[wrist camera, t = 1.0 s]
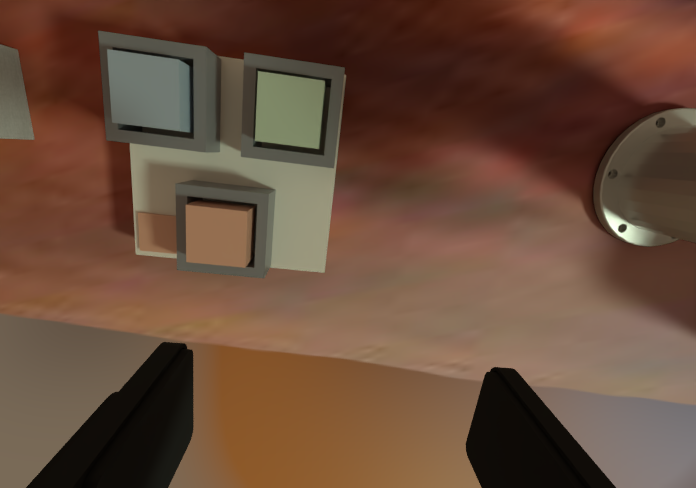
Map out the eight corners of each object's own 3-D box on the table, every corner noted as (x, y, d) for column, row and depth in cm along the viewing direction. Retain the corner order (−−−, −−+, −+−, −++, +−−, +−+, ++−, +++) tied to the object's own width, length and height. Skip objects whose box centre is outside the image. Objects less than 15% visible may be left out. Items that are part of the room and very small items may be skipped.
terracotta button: (255, 206, 25) (247, 211, 23) (252, 257, 26) (245, 267, 24) (199, 199, 25) (185, 204, 22) (199, 252, 26) (186, 262, 23)
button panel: (344, 82, 27) (348, 64, 22) (325, 261, 32) (323, 286, 26) (146, 54, 26) (94, 26, 20) (154, 244, 30) (112, 266, 25)
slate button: (194, 69, 22) (178, 59, 20) (194, 133, 23) (179, 131, 21) (130, 60, 22) (106, 49, 20) (133, 125, 23) (112, 122, 21)
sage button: (325, 87, 23) (324, 80, 21) (319, 149, 24) (318, 148, 22) (265, 79, 23) (257, 70, 20) (262, 141, 24) (255, 140, 21)
